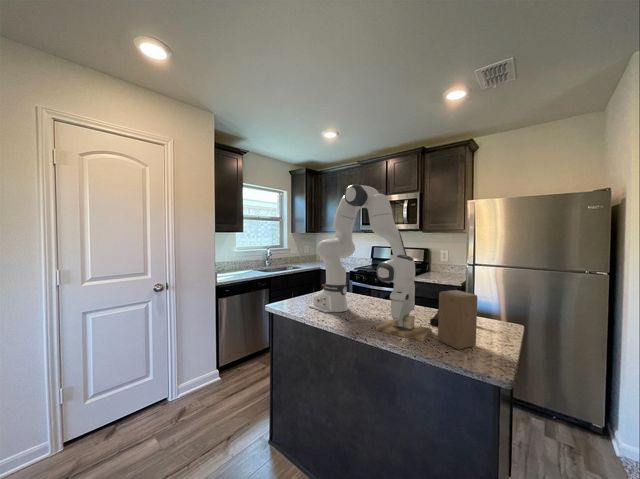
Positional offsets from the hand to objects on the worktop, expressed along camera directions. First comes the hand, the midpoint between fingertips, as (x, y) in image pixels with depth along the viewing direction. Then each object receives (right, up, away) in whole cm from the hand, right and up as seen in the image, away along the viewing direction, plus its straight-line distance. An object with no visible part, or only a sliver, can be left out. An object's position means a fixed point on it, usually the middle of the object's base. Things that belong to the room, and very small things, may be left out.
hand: (403, 324), depth 119 cm
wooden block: (+17, -4, -13) cm, 21 cm away
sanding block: (0, -1, 0) cm, 1 cm away
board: (0, -3, 0) cm, 3 cm away
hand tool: (+21, -3, +15) cm, 26 cm away
